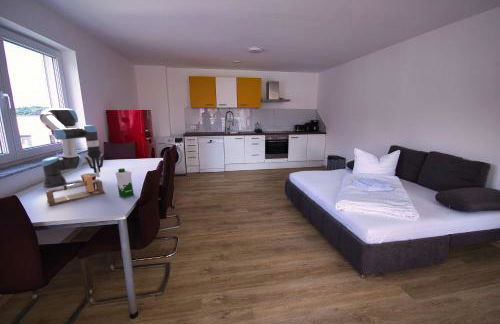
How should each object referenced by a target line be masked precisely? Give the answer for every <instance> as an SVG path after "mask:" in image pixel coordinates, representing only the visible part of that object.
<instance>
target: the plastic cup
mask: <svg viewBox="0 0 500 324" xmlns="http://www.w3.org/2000/svg"><path fill="white" fill-rule="evenodd" d="M86 174H88V175H90V176H91V177H92V180H96V173H94V172H93V173H92V172H90V173H84V174H81V175H80V178H81V179H82V182H84V178H83V175H86ZM93 187H94V189H96V184H93Z"/></svg>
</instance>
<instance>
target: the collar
mask: <svg viewBox="0 0 500 324" xmlns="http://www.w3.org/2000/svg"><path fill="white" fill-rule="evenodd" d="M85 174H86V175H83V174H82V175H83V178H84V182H86V181H87V186H84V188H85V190H86V191H89V192H93V191H94V187H93V181H92V177H91V176H90V175H88V173H85Z"/></svg>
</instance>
